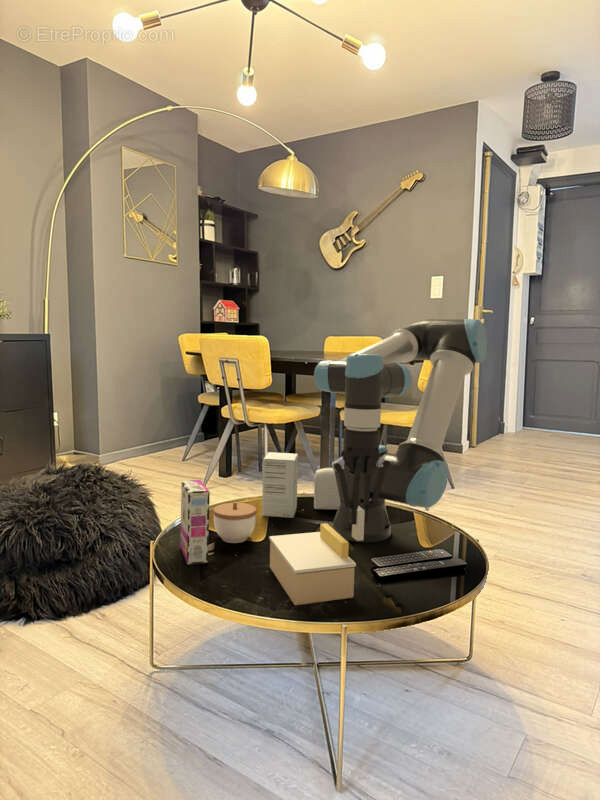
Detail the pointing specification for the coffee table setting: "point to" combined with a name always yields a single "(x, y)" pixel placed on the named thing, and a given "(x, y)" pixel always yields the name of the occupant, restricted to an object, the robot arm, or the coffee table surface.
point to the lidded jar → (234, 521)
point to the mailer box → (312, 581)
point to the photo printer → (326, 489)
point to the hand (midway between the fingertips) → (357, 538)
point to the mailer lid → (314, 550)
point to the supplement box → (279, 484)
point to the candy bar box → (194, 521)
